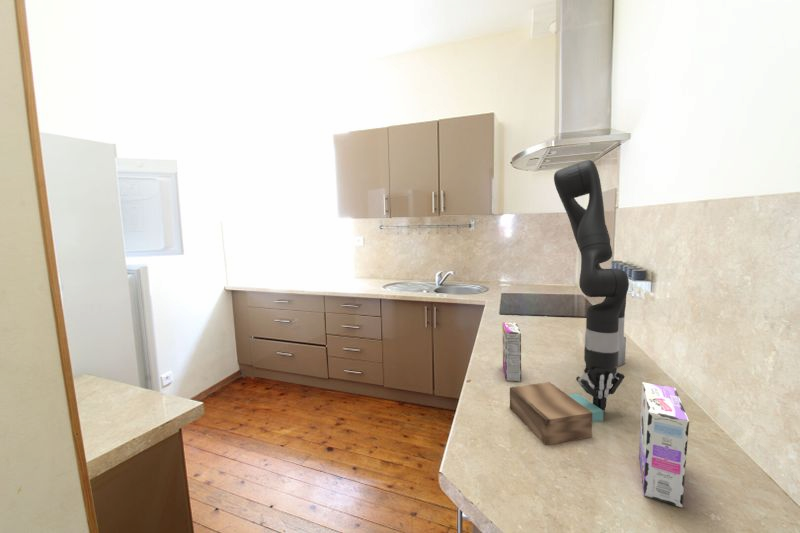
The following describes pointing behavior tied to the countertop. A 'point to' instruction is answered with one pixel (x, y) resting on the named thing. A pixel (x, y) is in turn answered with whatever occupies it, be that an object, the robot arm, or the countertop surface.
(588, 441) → the countertop surface
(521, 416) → the wood block
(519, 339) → the candy bar box
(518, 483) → the countertop surface
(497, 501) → the countertop surface
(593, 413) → the thin teal board
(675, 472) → the candy box
